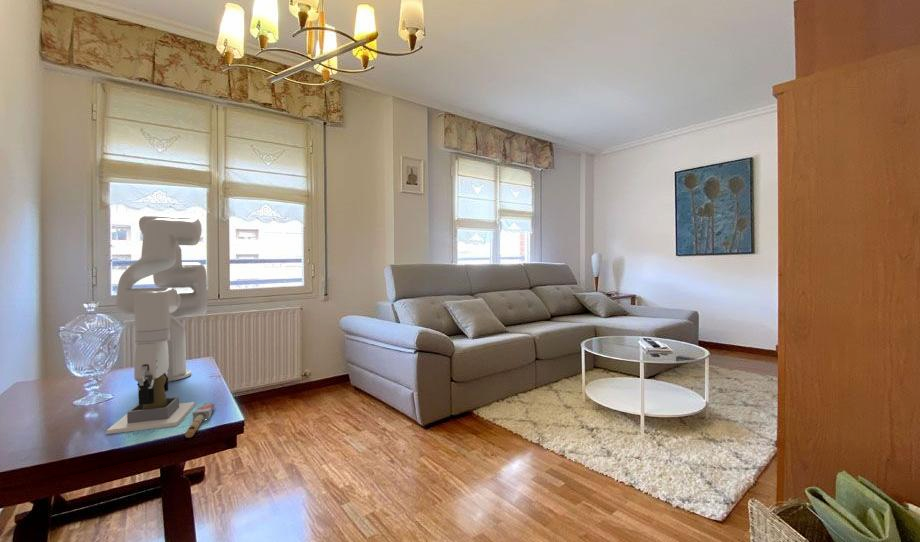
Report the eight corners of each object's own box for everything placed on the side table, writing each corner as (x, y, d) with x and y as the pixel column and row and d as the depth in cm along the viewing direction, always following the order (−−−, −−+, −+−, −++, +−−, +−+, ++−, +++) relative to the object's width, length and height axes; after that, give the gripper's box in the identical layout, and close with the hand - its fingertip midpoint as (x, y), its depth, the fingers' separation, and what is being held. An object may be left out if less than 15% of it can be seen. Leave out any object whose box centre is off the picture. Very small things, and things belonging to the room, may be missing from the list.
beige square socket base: (134, 411, 111) (133, 397, 111) (195, 405, 116) (194, 392, 116) (106, 434, 97) (106, 418, 97) (177, 425, 102) (177, 410, 102)
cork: (153, 419, 104) (152, 378, 103) (135, 417, 105) (134, 377, 105) (174, 410, 110) (173, 372, 109) (156, 408, 111) (156, 370, 110)
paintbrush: (217, 397, 115) (197, 428, 96) (218, 406, 115) (197, 438, 96) (202, 398, 114) (179, 430, 95) (202, 407, 114) (179, 441, 95)
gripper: (149, 330, 113) (151, 389, 114) (120, 343, 97) (122, 411, 97) (180, 329, 115) (181, 386, 116) (156, 341, 99) (158, 407, 100)
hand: (154, 397), depth 107 cm, fingers open, 9 cm apart
